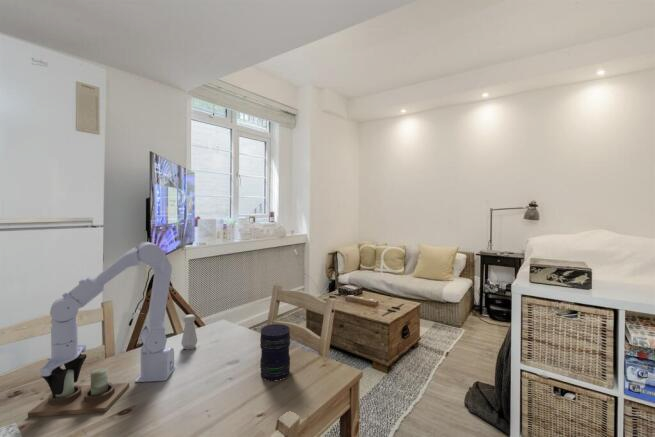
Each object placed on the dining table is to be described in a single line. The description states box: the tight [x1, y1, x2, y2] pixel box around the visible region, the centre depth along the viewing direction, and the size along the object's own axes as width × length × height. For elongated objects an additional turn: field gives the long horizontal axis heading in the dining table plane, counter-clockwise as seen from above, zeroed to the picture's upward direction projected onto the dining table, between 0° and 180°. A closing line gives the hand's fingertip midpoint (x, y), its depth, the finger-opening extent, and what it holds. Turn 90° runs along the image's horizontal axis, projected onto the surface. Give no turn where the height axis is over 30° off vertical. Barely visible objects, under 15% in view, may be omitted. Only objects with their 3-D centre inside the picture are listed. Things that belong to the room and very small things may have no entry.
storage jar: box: [259, 323, 291, 382], centre depth 102 cm, size 10×10×15 cm
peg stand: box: [27, 367, 130, 418], centre depth 87 cm, size 19×12×8 cm, turn 97°
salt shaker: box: [181, 313, 198, 351], centre depth 121 cm, size 6×6×13 cm
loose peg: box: [56, 370, 75, 399], centre depth 86 cm, size 4×4×7 cm
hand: (65, 387), depth 86 cm, fingers open, 5 cm apart
